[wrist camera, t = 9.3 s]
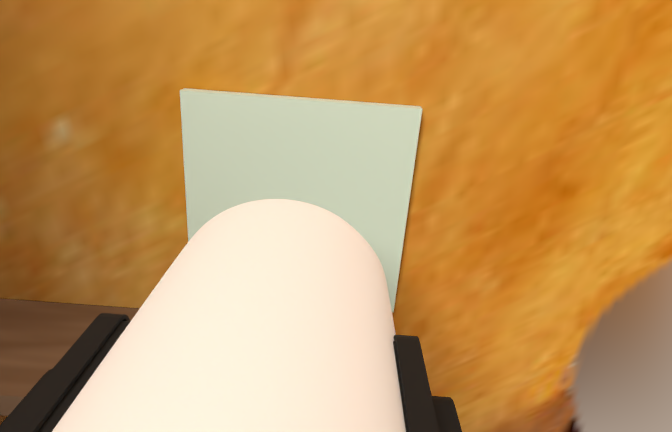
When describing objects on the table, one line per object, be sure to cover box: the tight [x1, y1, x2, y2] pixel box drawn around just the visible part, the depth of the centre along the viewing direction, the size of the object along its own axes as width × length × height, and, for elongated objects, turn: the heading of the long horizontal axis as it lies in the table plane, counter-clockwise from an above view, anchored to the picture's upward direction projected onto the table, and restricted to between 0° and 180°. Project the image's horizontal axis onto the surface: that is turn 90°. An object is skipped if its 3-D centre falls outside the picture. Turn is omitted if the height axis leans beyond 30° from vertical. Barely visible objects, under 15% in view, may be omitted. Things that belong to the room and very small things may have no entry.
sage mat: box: [180, 88, 422, 312], centre depth 20 cm, size 10×10×1 cm
